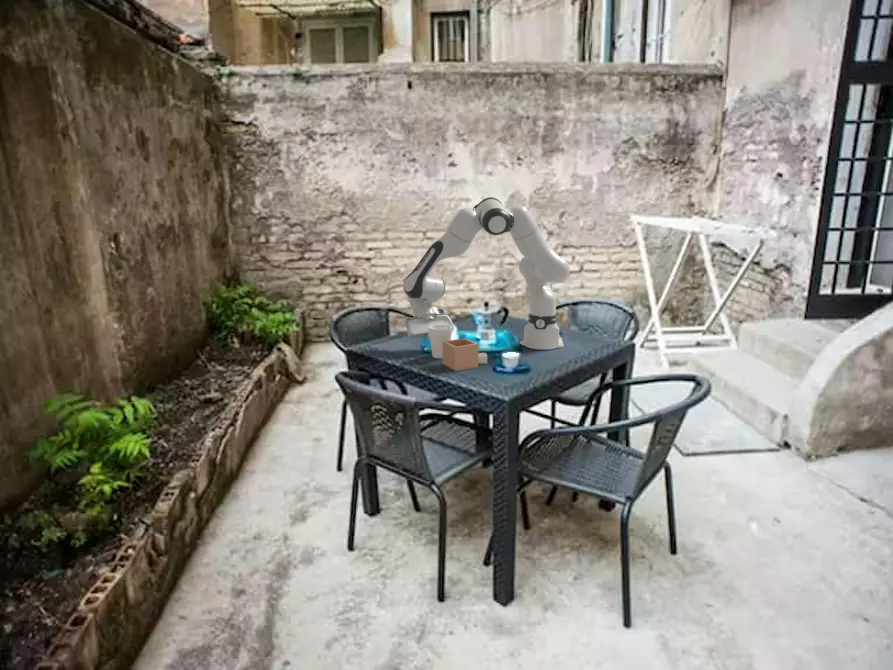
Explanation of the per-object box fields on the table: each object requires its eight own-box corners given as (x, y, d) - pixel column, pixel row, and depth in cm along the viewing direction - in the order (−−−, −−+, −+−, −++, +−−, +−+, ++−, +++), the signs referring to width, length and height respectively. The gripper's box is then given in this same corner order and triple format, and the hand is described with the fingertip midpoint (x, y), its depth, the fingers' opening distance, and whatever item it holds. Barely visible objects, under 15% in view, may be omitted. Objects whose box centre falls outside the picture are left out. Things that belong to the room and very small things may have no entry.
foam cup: (425, 359, 239) (424, 328, 235) (435, 354, 247) (434, 323, 244) (446, 362, 235) (446, 330, 232) (456, 356, 243) (455, 325, 240)
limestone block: (473, 362, 235) (473, 352, 234) (486, 362, 235) (486, 352, 234) (474, 366, 230) (474, 356, 229) (487, 366, 230) (487, 356, 229)
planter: (442, 366, 230) (442, 341, 227) (465, 362, 234) (465, 338, 232) (455, 373, 221) (455, 347, 219) (478, 369, 226) (478, 343, 223)
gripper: (404, 314, 243) (415, 342, 237) (449, 309, 252) (460, 336, 246) (400, 322, 248) (410, 351, 242) (444, 317, 257) (455, 344, 251)
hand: (436, 343), depth 244 cm, fingers closed, pressing on foam cup
